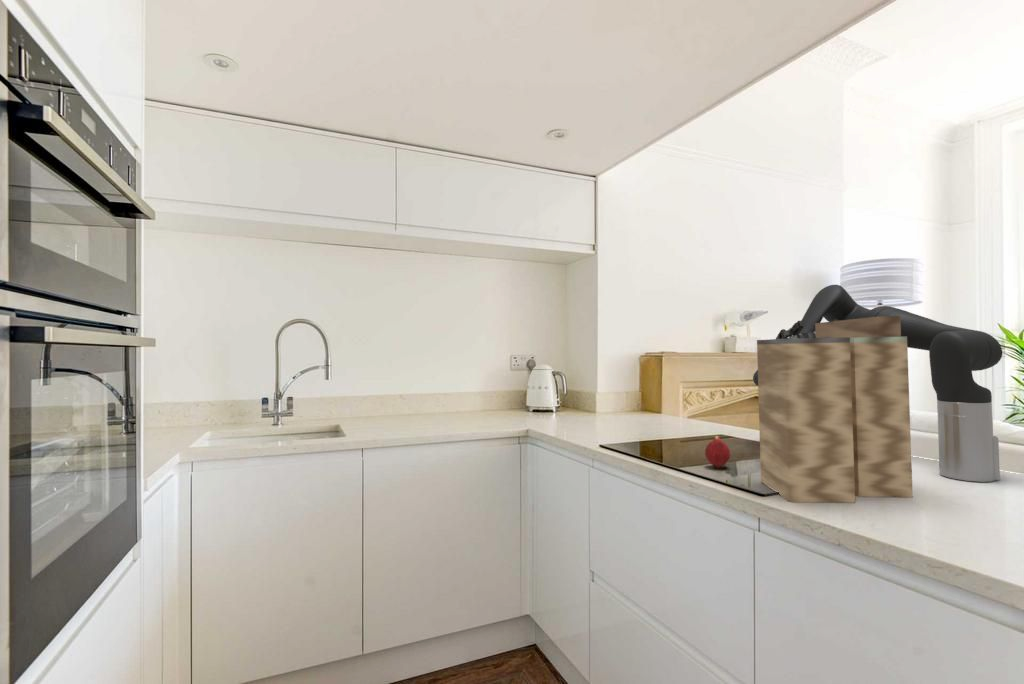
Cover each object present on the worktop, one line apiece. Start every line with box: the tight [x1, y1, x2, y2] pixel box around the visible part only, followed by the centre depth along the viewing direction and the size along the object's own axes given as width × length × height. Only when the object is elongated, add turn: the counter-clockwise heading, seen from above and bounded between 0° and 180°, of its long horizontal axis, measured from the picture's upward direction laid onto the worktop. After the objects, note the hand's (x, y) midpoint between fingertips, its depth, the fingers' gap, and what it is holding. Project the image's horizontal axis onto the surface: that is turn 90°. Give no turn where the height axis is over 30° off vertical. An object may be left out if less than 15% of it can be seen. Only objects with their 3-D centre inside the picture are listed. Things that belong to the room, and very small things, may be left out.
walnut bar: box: [815, 316, 901, 338], centre depth 108 cm, size 4×24×4 cm, turn 174°
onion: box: [704, 435, 731, 469], centre depth 125 cm, size 6×6×8 cm
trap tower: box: [756, 337, 856, 504], centre depth 103 cm, size 12×14×32 cm
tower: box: [850, 336, 914, 498], centre depth 105 cm, size 10×14×32 cm
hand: (819, 323), depth 122 cm, fingers open, 8 cm apart
